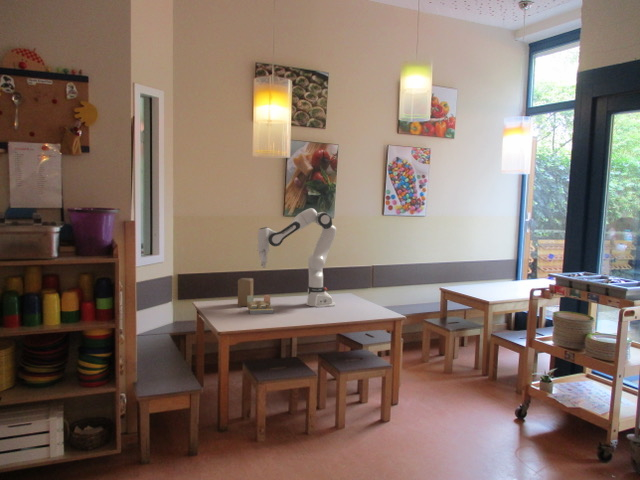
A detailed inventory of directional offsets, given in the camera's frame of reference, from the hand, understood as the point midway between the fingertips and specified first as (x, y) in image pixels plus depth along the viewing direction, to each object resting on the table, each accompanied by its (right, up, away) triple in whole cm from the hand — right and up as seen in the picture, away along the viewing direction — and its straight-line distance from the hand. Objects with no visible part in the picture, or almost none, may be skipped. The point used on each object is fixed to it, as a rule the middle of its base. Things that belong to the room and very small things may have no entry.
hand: (263, 266), depth 370 cm
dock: (+1, -31, -20) cm, 37 cm away
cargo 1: (-7, -24, -22) cm, 33 cm away
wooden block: (-13, -29, +1) cm, 32 cm away
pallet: (-1, -29, -20) cm, 35 cm away
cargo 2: (+5, -24, -19) cm, 31 cm away
